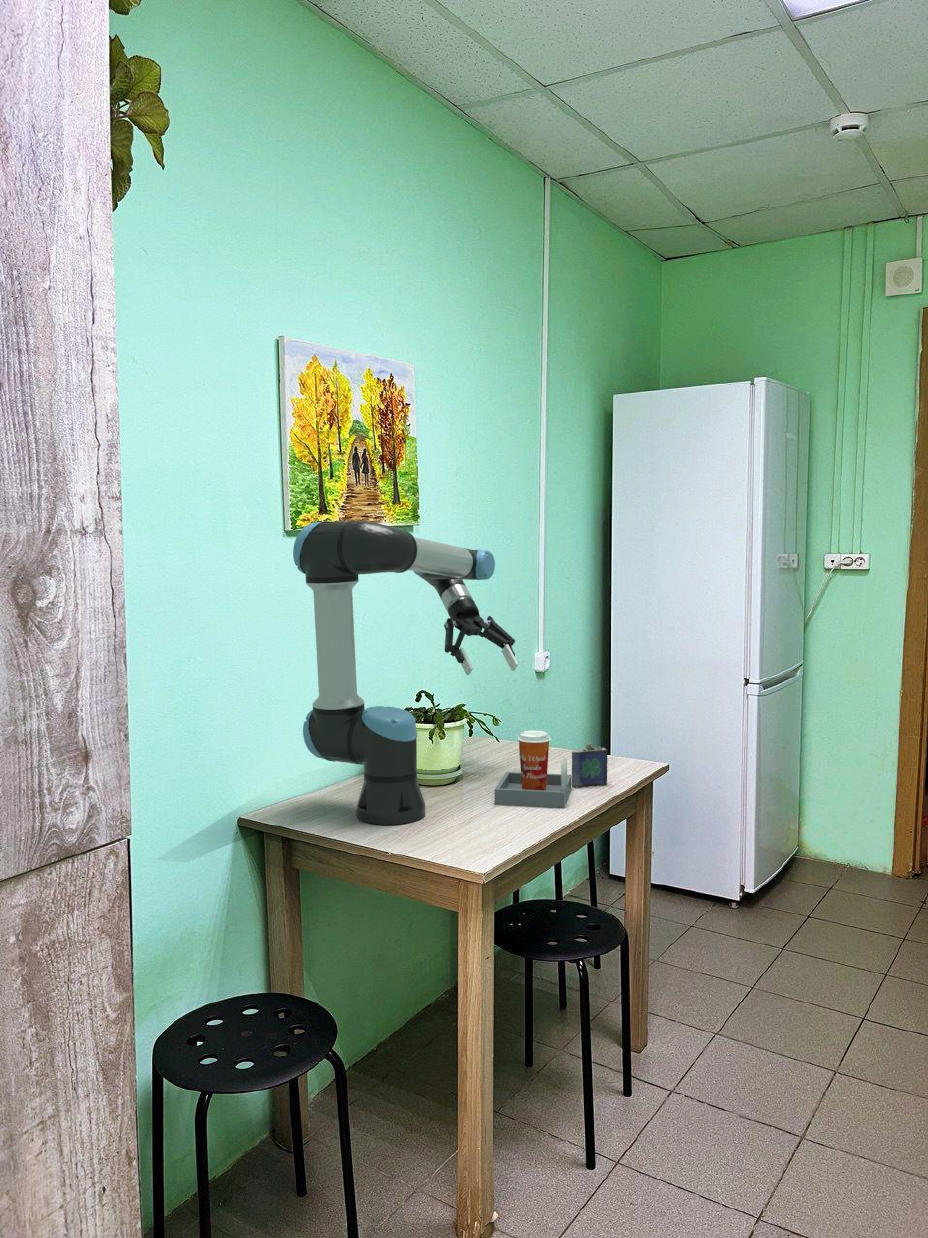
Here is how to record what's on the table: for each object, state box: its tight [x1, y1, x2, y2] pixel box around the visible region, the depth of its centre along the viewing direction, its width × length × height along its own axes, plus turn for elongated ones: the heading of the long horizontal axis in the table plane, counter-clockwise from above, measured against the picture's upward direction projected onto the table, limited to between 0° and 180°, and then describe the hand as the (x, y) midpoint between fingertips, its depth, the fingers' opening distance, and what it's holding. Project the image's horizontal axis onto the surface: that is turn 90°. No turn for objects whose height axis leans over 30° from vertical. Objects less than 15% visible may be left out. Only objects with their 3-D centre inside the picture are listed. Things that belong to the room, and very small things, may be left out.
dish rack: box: [493, 756, 572, 809], centre depth 215 cm, size 16×16×10 cm
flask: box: [571, 741, 609, 789], centre depth 224 cm, size 9×3×11 cm, turn 105°
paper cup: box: [517, 730, 552, 791], centre depth 215 cm, size 8×8×14 cm
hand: (493, 669), depth 227 cm, fingers open, 13 cm apart
